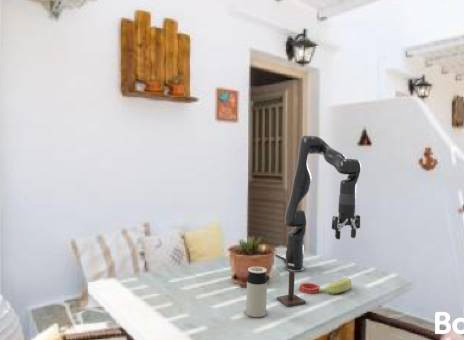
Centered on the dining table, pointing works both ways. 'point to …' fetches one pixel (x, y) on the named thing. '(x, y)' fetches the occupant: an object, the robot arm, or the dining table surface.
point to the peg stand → (291, 294)
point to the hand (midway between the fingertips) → (345, 238)
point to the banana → (338, 286)
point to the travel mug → (256, 292)
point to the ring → (306, 286)
